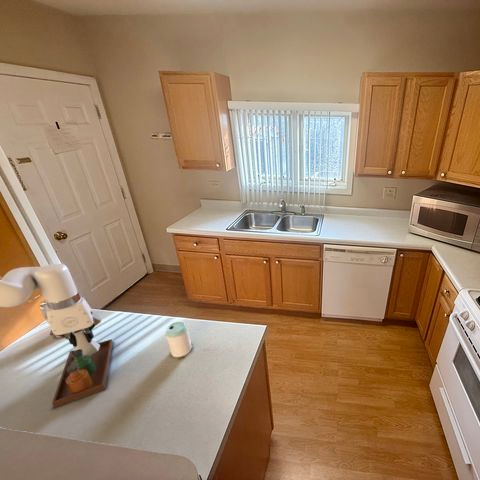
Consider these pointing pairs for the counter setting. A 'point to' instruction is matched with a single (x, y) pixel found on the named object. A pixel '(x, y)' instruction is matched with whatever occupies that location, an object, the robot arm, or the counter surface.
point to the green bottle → (84, 361)
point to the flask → (85, 343)
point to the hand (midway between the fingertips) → (83, 341)
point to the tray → (98, 377)
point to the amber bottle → (78, 379)
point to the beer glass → (45, 314)
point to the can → (178, 339)
